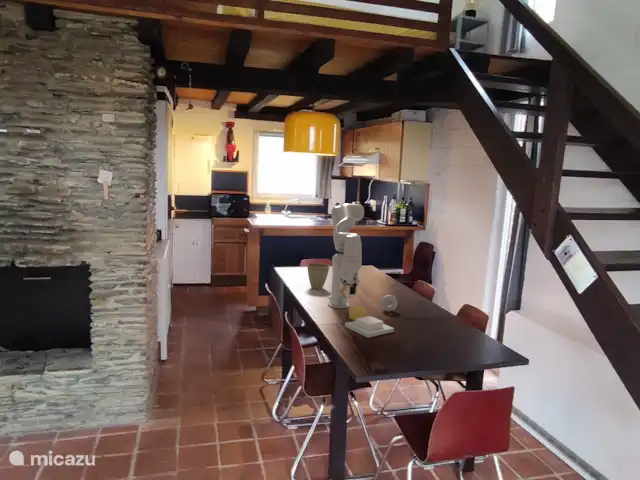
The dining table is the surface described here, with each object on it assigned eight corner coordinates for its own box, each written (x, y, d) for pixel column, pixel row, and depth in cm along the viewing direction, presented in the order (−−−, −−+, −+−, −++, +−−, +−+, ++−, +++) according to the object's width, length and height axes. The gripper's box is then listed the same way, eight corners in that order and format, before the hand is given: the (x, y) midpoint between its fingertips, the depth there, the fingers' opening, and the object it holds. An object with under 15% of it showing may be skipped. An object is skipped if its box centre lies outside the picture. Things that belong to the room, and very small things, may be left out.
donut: (380, 312, 283) (382, 295, 281) (379, 310, 286) (380, 293, 284) (397, 312, 284) (398, 295, 282) (395, 310, 287) (397, 294, 286)
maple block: (339, 295, 255) (340, 283, 254) (349, 293, 258) (349, 281, 257) (347, 298, 250) (347, 286, 248) (356, 296, 253) (357, 284, 252)
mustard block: (349, 317, 268) (349, 306, 267) (357, 316, 272) (358, 305, 271) (356, 321, 263) (357, 309, 262) (365, 319, 267) (366, 308, 266)
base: (344, 326, 253) (345, 317, 253) (369, 321, 264) (370, 312, 263) (367, 337, 239) (368, 328, 238) (393, 331, 250) (394, 322, 249)
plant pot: (327, 291, 320) (329, 268, 317) (305, 290, 320) (306, 266, 317) (328, 286, 335) (329, 263, 332) (306, 284, 335) (307, 262, 332)
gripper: (334, 256, 256) (332, 289, 258) (355, 262, 242) (353, 297, 244) (345, 255, 260) (343, 287, 263) (367, 261, 246) (364, 295, 249)
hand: (348, 292), depth 254 cm, fingers closed on maple block, 6 cm apart
